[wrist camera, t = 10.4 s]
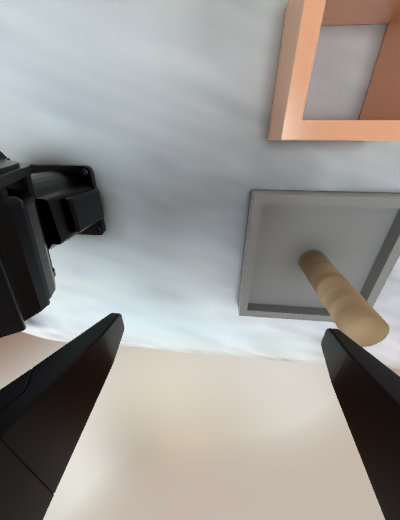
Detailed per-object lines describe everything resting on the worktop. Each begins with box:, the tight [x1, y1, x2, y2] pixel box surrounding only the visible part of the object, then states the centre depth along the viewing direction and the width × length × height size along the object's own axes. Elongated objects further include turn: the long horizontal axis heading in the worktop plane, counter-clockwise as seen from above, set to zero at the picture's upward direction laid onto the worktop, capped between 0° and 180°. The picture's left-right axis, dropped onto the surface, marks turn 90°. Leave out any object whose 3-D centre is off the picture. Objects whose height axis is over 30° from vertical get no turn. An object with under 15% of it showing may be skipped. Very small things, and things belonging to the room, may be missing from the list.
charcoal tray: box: [238, 189, 400, 322], centre depth 21 cm, size 13×13×2 cm
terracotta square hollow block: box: [268, 0, 400, 141], centre depth 13 cm, size 7×7×4 cm
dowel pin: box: [299, 250, 389, 347], centre depth 17 cm, size 2×2×9 cm
